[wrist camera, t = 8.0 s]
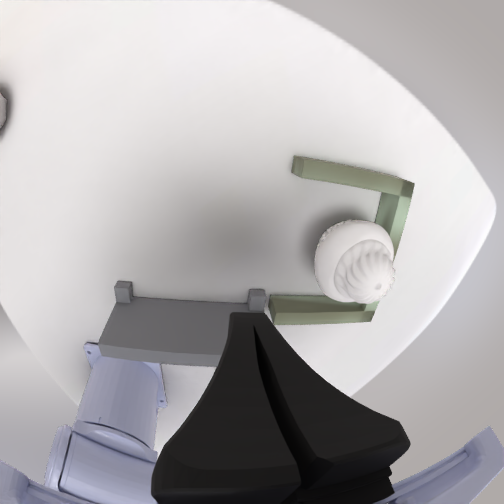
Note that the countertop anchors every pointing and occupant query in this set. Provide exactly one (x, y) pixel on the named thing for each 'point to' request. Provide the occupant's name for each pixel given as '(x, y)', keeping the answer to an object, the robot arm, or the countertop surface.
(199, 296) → the countertop surface
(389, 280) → the muffin
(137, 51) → the countertop surface
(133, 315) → the screen
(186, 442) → the robot arm
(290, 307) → the bay
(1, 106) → the salt shaker
